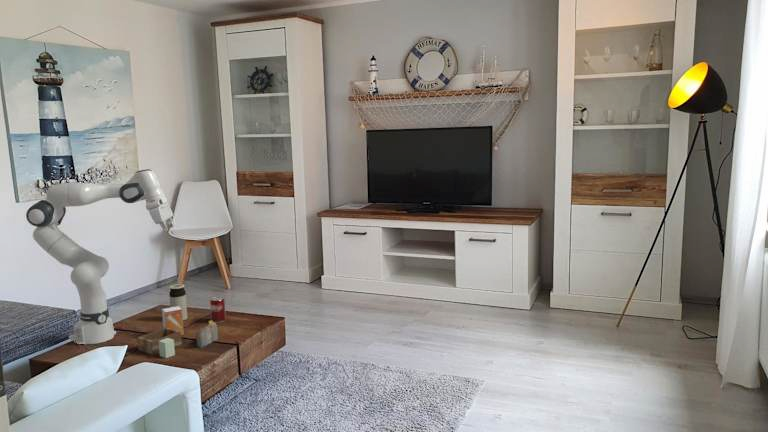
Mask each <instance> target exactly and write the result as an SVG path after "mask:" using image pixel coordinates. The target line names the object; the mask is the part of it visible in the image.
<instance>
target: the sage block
mask: <svg viewBox="0 0 768 432" xmlns="http://www.w3.org/2000/svg"><path fill="white" fill-rule="evenodd" d="M159 351H160V353H159V356H160V357H161V358H165V359H168V358H170V357H173V356H176V350H175V347H174V340H173V339H170V338H166V339H163V340H160V341H159Z"/></svg>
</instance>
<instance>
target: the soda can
mask: <svg viewBox="0 0 768 432" xmlns="http://www.w3.org/2000/svg"><path fill="white" fill-rule="evenodd" d="M209 304H210V305H209V306H210V307H209V308H210V321H211V320H212V321H213V322H215V323H216V324H220V323H224V322H225V321H226V319H227V315H226V314H227V313H226V300H225V297H224V296H215V297H211V298H210V299H209Z"/></svg>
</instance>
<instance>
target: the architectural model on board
mask: <svg viewBox="0 0 768 432" xmlns="http://www.w3.org/2000/svg"><path fill="white" fill-rule="evenodd" d="M198 330H199V331H195V336H196V338H195V340H196V347H197V348H201V349H202V348H204V347H206V346H207V345H209V344H211V343H213V342H216V341H217V340H219V339H218V336H219V335H218V323H215V322H213V321H212V320H211V319H210V320H208V325H207V326H205V327H203V328H201V329H198Z"/></svg>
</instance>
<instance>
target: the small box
mask: <svg viewBox="0 0 768 432" xmlns="http://www.w3.org/2000/svg"><path fill="white" fill-rule="evenodd" d="M161 315H162V325H163V326H162V327H163V328H169V329H173V330H177V331H180V332H181V336H183V335H184V333H185V331H184V321H183V317H182V309H181V308H180V307H179V306H176V307H166V308H162V309H161ZM163 328H162V329H163Z"/></svg>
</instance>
